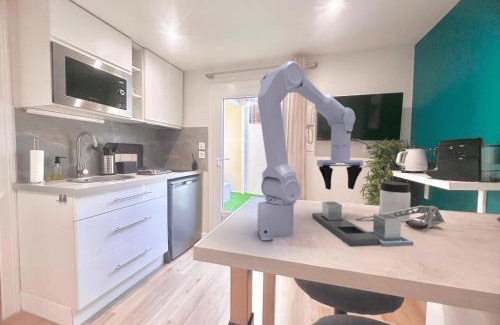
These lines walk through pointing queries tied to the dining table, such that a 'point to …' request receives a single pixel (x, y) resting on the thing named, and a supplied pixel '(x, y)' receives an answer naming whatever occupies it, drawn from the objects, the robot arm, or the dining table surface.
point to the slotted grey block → (331, 211)
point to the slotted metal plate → (347, 231)
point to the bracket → (429, 216)
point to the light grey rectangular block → (387, 227)
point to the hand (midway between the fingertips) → (339, 188)
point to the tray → (395, 242)
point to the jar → (395, 198)
